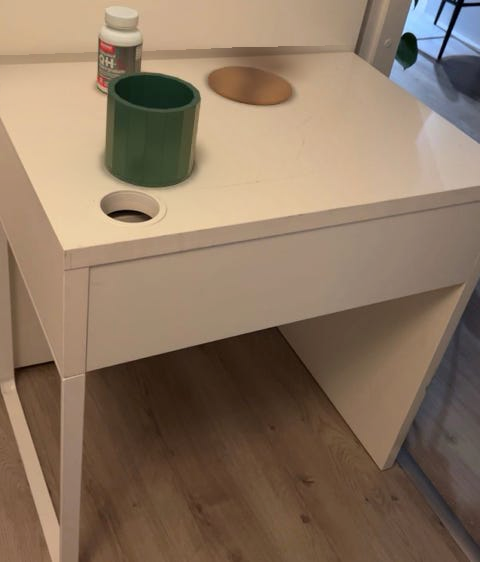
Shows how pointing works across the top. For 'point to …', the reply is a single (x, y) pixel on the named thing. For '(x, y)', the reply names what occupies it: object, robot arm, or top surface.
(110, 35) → the pill bottle
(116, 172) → the tin
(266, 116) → the top surface
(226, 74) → the cork mat
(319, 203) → the top surface
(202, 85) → the top surface
